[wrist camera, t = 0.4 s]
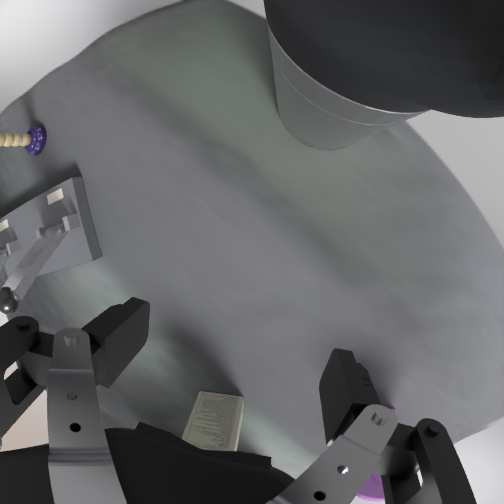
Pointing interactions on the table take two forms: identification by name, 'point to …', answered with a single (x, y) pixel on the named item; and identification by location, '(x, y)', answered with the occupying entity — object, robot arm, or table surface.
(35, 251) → the black knob lever
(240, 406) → the skincare box
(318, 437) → the table surface
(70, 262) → the switch panel
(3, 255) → the copper knob lever
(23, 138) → the toy lamp
